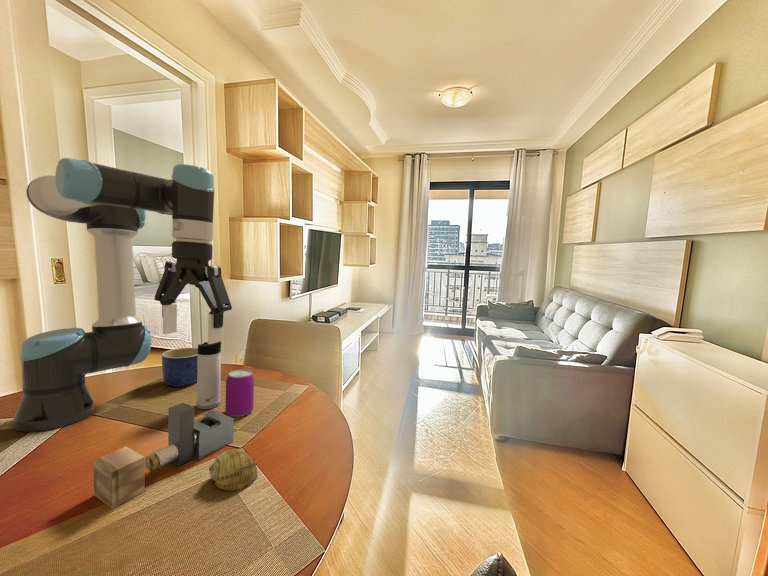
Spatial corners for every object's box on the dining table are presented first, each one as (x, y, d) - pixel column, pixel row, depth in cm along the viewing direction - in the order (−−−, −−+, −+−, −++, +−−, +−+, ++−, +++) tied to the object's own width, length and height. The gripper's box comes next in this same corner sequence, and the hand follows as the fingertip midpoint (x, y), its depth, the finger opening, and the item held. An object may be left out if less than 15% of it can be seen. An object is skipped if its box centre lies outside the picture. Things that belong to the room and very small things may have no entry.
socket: (126, 478, 65) (126, 446, 64) (144, 490, 62) (144, 456, 61) (94, 495, 60) (93, 460, 59) (112, 508, 57) (111, 472, 56)
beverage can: (227, 407, 97) (228, 369, 96) (254, 404, 99) (255, 367, 98) (223, 419, 90) (223, 378, 88) (252, 416, 92) (253, 376, 91)
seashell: (252, 489, 69) (250, 449, 74) (265, 482, 66) (263, 441, 70) (203, 501, 63) (204, 457, 67) (215, 494, 59) (215, 448, 63)
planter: (199, 373, 121) (199, 345, 121) (206, 384, 112) (206, 354, 111) (160, 379, 114) (160, 350, 113) (163, 392, 104) (163, 360, 103)
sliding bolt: (212, 437, 80) (213, 391, 79) (222, 441, 78) (223, 395, 77) (143, 472, 66) (143, 417, 65) (154, 478, 64) (154, 422, 63)
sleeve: (216, 433, 82) (216, 408, 82) (233, 441, 80) (233, 415, 79) (181, 451, 74) (181, 423, 74) (198, 460, 72) (199, 431, 71)
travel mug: (211, 411, 94) (212, 345, 92) (192, 407, 95) (192, 342, 93) (225, 402, 100) (226, 340, 98) (207, 399, 101) (208, 337, 99)
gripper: (135, 236, 69) (135, 332, 71) (222, 243, 60) (219, 351, 62) (169, 239, 76) (168, 326, 78) (251, 245, 67) (248, 342, 69)
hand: (191, 337), depth 70 cm, fingers open, 13 cm apart
